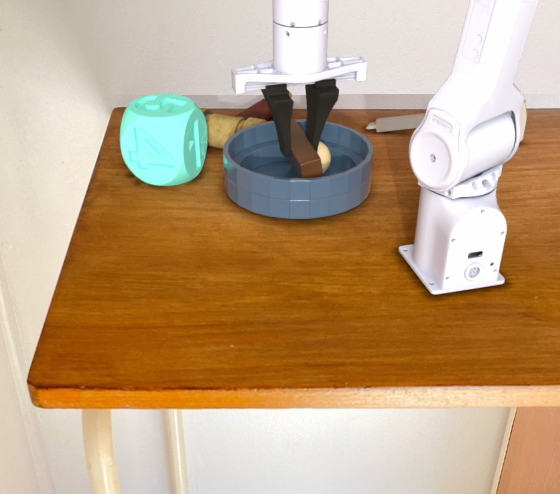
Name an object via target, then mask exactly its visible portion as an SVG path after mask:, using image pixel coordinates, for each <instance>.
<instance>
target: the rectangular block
mask: <svg viewBox="0 0 560 494" xmlns="http://www.w3.org/2000/svg"><path fill="white" fill-rule="evenodd" d="M291 119H292V118H291ZM295 119H296V118H293V119H292V120H291V156H290V157H287V158H288V160H289V162H290V163H291V165H292V166H293V168H294V170H295V171H296V173H297V175H298V176H299V178H317V177H323V171H322V163H321V158H320V157H319V155H318V154H317V152H316V151H315V149H314V148H313V146H312V145H311V143H310V142H309V140H308V138H307V137H306V135H305V134H304V132H303V131H302V129H301V128H300V126H299V125H298V123H297V122H296V120H295ZM276 132H277V131H276ZM277 137H278V135H277ZM278 143H279V140H278Z"/></svg>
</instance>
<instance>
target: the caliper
mask: <svg viewBox="0 0 560 494" xmlns="http://www.w3.org/2000/svg"><path fill="white" fill-rule="evenodd" d="M526 101H527V100H526V99H524V102H523V105H522V109H521V113H520V129H521V137H520V142H522V141H523V139H524V135H525V129H526V125H527V119H528V111H527V102H526ZM425 113H426V112H424V113H414V114H405V115H396V116H387V117H379V118H376V119H375V122H370V123H368V124H367V125H366V128H365V129H366V130H373V129H375V130H376V133H383V132H393V131H401V130H411V129H416V128H417V127H418V126H419V125H420V124H421V122H422V121H423V119H424V116H425Z"/></svg>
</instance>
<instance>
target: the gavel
mask: <svg viewBox="0 0 560 494" xmlns="http://www.w3.org/2000/svg"><path fill="white" fill-rule="evenodd" d="M289 96H290V97H291V98H292V97H293V94H292V92H291V91H289ZM199 108H200V110H201V111H202V112H203V114H204V117H205V120H206V124H207V147H211V148H216V149H219V150H221V149H222V150H223V146H224V144H225V142H226V141H227V140H228V138H229V137H230V136H232V135H233V134H235V133H236V132H238V131H239V130H242V129H244V128H247V127H249V126H252V125H255V124H260V123H264V122H268V120H270V119H271V118H273V117H272V115H271V112H270V109H269V107H268V104H267V102H266V100H265V98H262V99H260V100H259V101H258V102H255V103H254V104H252V105H250V106H249V107H247V108H245V109H243V110H242V111H240V112H239V113H238V114H237V115H236V116H232V115H227V114H222V113H216V112H215V113H213V111H212V110H211V109H209V108H204V107H199Z"/></svg>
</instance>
